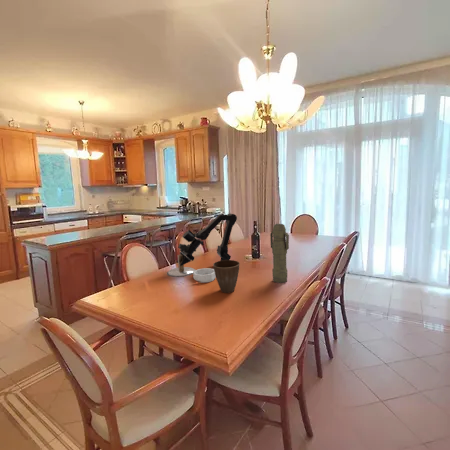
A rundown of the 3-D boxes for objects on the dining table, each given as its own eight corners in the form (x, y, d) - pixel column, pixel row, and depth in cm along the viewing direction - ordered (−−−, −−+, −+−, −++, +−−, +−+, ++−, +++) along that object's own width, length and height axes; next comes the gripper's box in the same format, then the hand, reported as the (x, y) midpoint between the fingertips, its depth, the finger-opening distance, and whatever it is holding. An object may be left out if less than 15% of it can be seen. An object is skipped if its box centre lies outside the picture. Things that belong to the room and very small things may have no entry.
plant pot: (232, 297, 153) (230, 269, 150) (209, 293, 161) (207, 265, 158) (245, 288, 165) (244, 261, 163) (223, 284, 173) (222, 258, 171)
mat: (197, 268, 207) (197, 267, 206) (193, 278, 187) (193, 276, 187) (170, 269, 208) (170, 268, 207) (163, 279, 188) (163, 277, 188)
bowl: (216, 275, 191) (216, 268, 190) (214, 282, 177) (214, 274, 176) (195, 275, 191) (195, 268, 191) (192, 283, 178) (191, 275, 177)
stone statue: (286, 284, 168) (285, 226, 163) (268, 281, 175) (267, 224, 170) (292, 279, 176) (291, 223, 170) (274, 276, 182) (273, 222, 177)
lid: (190, 266, 209) (189, 250, 207) (197, 273, 192) (196, 256, 190) (165, 270, 202) (164, 254, 200) (171, 278, 185) (169, 260, 184)
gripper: (181, 237, 204) (167, 254, 201) (188, 241, 187) (173, 260, 184) (192, 246, 208) (178, 263, 205) (200, 251, 191) (185, 270, 188)
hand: (178, 264), depth 196 cm, fingers open, 8 cm apart
